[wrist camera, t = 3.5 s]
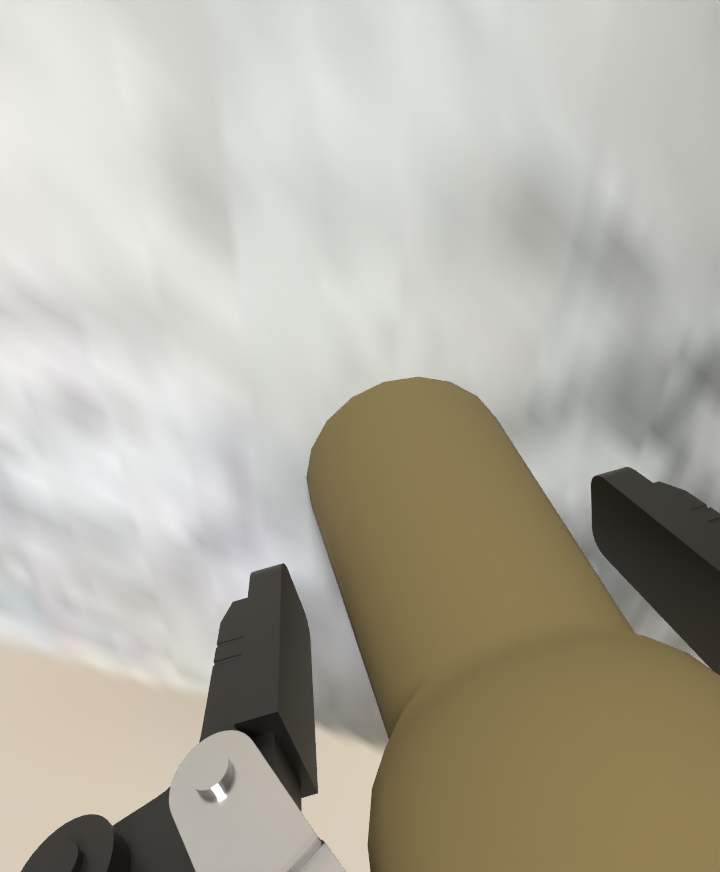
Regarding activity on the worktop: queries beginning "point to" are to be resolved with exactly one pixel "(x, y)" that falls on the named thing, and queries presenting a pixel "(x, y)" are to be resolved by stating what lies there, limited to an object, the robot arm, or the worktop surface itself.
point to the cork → (503, 659)
